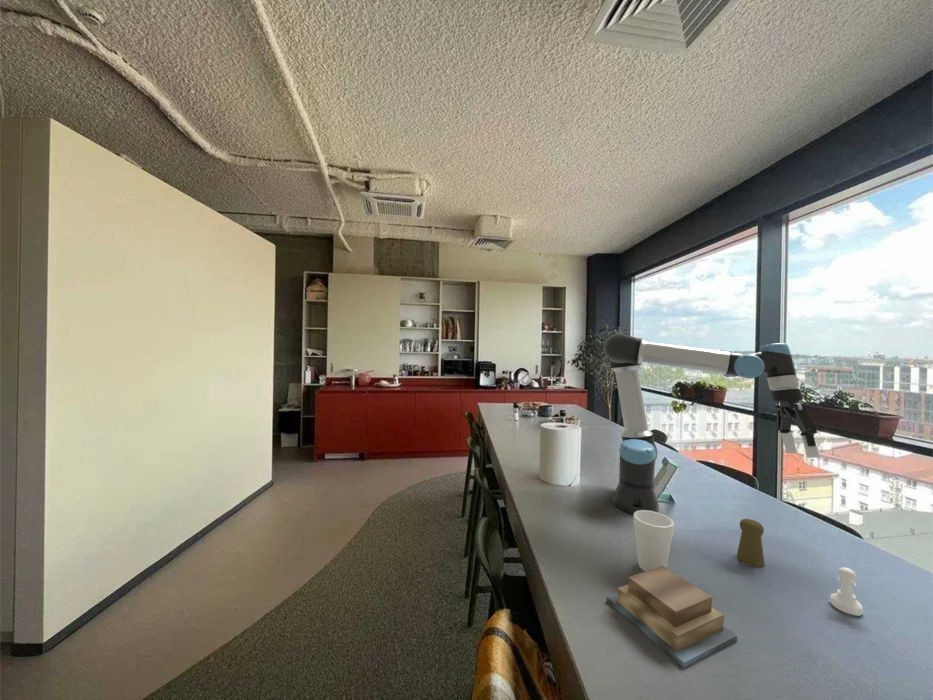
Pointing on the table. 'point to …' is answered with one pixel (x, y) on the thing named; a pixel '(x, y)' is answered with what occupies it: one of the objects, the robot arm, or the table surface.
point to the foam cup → (652, 538)
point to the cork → (751, 543)
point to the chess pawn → (846, 594)
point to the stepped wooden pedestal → (673, 615)
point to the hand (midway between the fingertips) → (801, 455)
